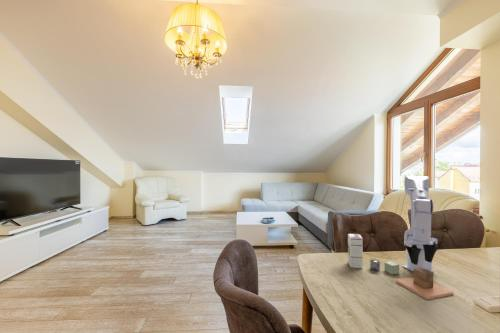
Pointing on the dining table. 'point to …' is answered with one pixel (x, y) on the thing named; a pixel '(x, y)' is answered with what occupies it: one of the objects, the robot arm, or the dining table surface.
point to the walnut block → (423, 278)
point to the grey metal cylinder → (375, 265)
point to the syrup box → (355, 251)
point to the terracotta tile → (425, 293)
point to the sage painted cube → (391, 267)
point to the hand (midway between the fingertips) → (421, 262)
